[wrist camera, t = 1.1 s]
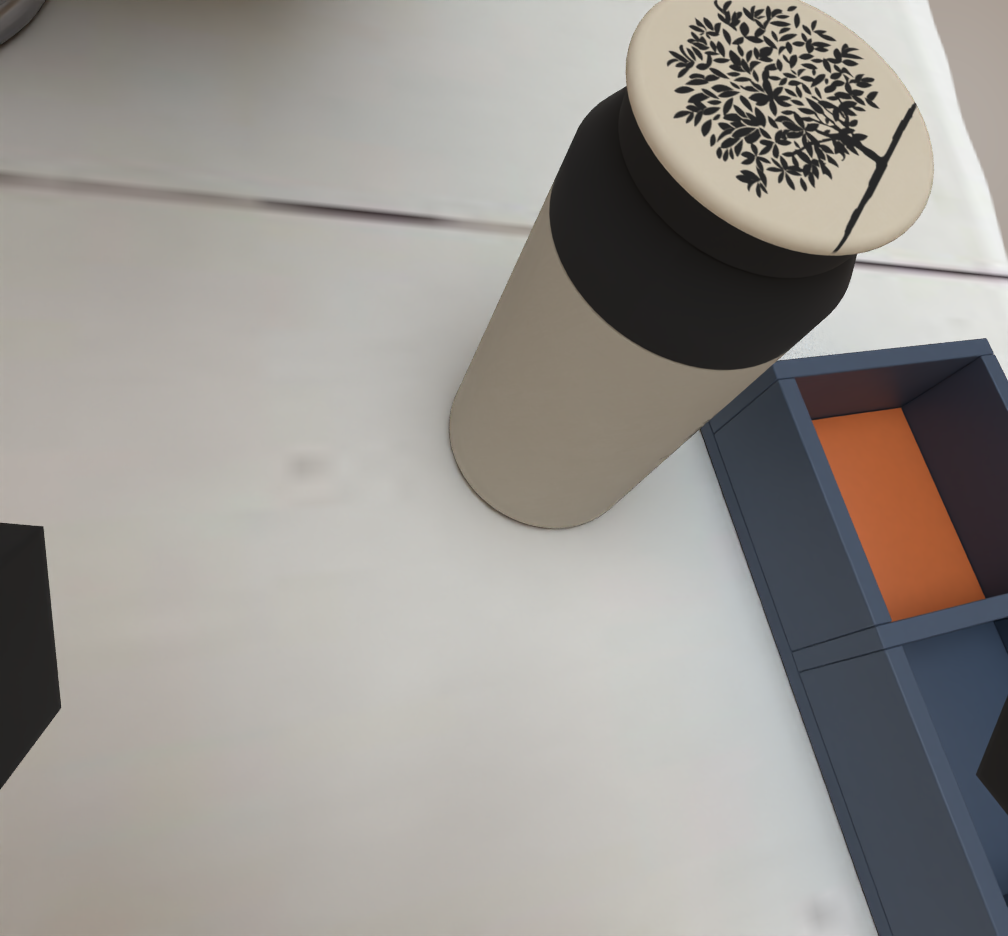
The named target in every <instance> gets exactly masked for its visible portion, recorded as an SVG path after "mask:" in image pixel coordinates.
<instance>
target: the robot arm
mask: <svg viewBox="0 0 1008 936" xmlns="http://www.w3.org/2000/svg"><path fill="white" fill-rule="evenodd" d="M44 2H45V0H0V44H2V43H4V42H5V41H7V40H8V39H9V38H11V37H12V36H13V35H15V34H16V33H18V32H19V31H20V30H21V29H22V28H23V27H24V26H25V25H26V24H27V23H29V21H30V20H31V19H32V18H33V17H34V16H35V14H36V13H37V12H38V11H39V9H40V8H41V6H42V5H43V3H44ZM60 709H61V701H60V691H59V681H58V670H57V660H56V650H55V640H54V630H53V620H52V610H51V600H50V589H49V579H48V569H47V559H46V549H45V539H44V529H43V526H31V525H20V524H8V523H0V789H1V788H2V787H3V785H4V784H5V783H6V781H7V780H8V779H9V777H10V776H11V774H12V773H13V772H14V770H15V769H16V768H17V766H18V765H19V764H20V762H21V761H22V760H23V758H24V757H25V756H26V754H27V753H28V752H29V750H30V749H31V748H32V746H33V745H34V744H35V742H36V741H37V740H38V738H39V737H40V736H41V734H42V733H43V732H44V730H45V729H46V728H47V726H48V725H49V724H50V722H51V721H52V719H53V718H54V717H55V715H56V714H57V713H58V711H59V710H60ZM976 776H977V777H978V778H979V780H980V781H981V782H982V783H983V785H984V786H985V787H986V788H987V790H988V791H989V792H990V793H991V795H992V796H993V797H994V798H995V800H996V801H997V802H998V804H999V805H1000V806H1001V807H1002V809H1003V810H1004V811H1005V812H1006V814H1007V815H1008V696H1007V698H1006V701H1005V703H1004V705H1003V708H1002V710H1001V713H1000V715H999V718H998V720H997V723H996V725H995V728H994V730H993V733H992V735H991V738H990V740H989V743H988V745H987V748H986V750H985V753H984V755H983V758H982V760H981V763H980V765H979V768H978V770H977V772H976Z"/></svg>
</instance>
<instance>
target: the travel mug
mask: <svg viewBox="0 0 1008 936" xmlns="http://www.w3.org/2000/svg"><path fill="white" fill-rule="evenodd" d="M626 84H627V86H626V87H624V88H623V89H621V90H619V91H618V92H616V93H614V94H613V95H611V96H609V97H608V98H606V99H605V100H603V101H602V102H600V103H599V104H598V105H597V106H596V107H594V108H593V109H592V110H591V111H590V112H589V114H588V115H587V116H586V117H585V118H584V120H583V121H582V123H581V124H580V126H579V128H578V130H577V132H576V134H575V136H574V138H573V141H572V143H571V145H570V147H569V149H568V152H567V154H566V156H565V158H564V160H563V163H562V165H561V167H560V169H559V171H558V173H557V176H556V178H555V180H554V182H553V184H552V187H551V189H550V191H549V193H548V195H547V197H546V200H545V202H544V204H543V206H542V208H541V211H540V213H539V215H538V217H537V219H536V221H535V224H534V226H533V228H532V230H531V232H530V235H529V237H528V239H527V241H526V243H525V246H524V248H523V250H522V252H521V254H520V256H519V259H518V261H517V263H516V265H515V267H514V270H513V272H512V274H511V276H510V278H509V280H508V283H507V285H506V287H505V289H504V291H503V294H502V296H501V298H500V300H499V302H498V304H497V307H496V309H495V311H494V313H493V315H492V318H491V320H490V322H489V324H488V326H487V328H486V331H485V333H484V335H483V337H482V339H481V342H480V344H479V346H478V348H477V350H476V353H475V355H474V357H473V359H472V361H471V363H470V366H469V368H468V370H467V372H466V374H465V377H464V379H463V381H462V383H461V385H460V387H459V390H458V392H457V394H456V396H455V398H454V401H453V405H452V408H451V413H450V422H449V433H450V441H451V446H452V450H453V453H454V456H455V459H456V462H457V464H458V466H459V468H460V470H461V472H462V474H463V475H464V477H465V479H466V480H467V481H468V483H469V484H470V486H471V487H472V488H473V489H474V490H475V492H476V493H477V494H478V495H479V496H480V497H481V498H482V499H483V500H484V501H486V502H487V503H488V504H489V505H490V506H492V507H493V508H495V509H496V510H498V511H499V512H501V513H503V514H504V515H506V516H508V517H510V518H512V519H514V520H517V521H519V522H522V523H525V524H528V525H532V526H537V527H544V528H567V527H573V526H577V525H581V524H584V523H587V522H589V521H592V520H594V519H596V518H598V517H599V516H601V515H602V514H604V513H605V512H607V511H608V510H609V509H610V508H611V507H612V506H614V505H615V504H616V503H617V502H618V501H619V500H620V499H622V498H623V497H624V496H625V495H626V494H627V493H628V492H629V491H631V490H632V489H633V488H634V487H635V486H636V485H637V484H638V483H640V482H641V481H642V480H643V479H644V478H645V477H646V476H647V475H649V474H650V473H651V472H652V471H653V470H654V469H655V468H656V467H658V466H659V465H660V464H661V463H662V462H663V461H664V460H666V459H667V458H668V457H669V456H670V455H671V454H672V453H673V452H675V451H676V450H677V449H678V448H679V447H680V446H681V445H682V444H684V443H685V442H686V441H687V440H688V439H689V438H690V437H691V436H693V435H694V434H695V433H696V432H697V431H698V430H699V429H700V428H702V427H703V426H704V425H705V424H706V423H707V422H708V421H710V420H711V419H712V418H713V417H714V416H715V415H716V414H717V413H719V412H720V411H721V410H722V409H723V408H724V407H725V406H726V405H728V404H729V403H730V402H731V401H732V400H733V399H734V398H735V397H737V396H738V395H739V394H740V393H741V392H742V391H743V390H745V389H746V388H747V387H748V386H749V385H750V384H751V383H752V382H754V381H755V380H756V379H757V378H758V377H759V376H760V375H761V374H763V373H764V372H765V371H766V370H767V369H768V368H769V367H770V366H772V365H773V364H774V363H775V362H776V361H777V360H778V359H779V358H781V357H782V356H783V355H784V354H785V353H786V352H787V351H789V350H790V349H791V348H792V347H793V346H794V345H795V344H796V343H798V342H799V341H800V340H801V339H802V338H803V337H804V336H805V335H807V334H808V333H809V332H810V331H811V330H812V329H813V328H814V327H816V326H817V325H818V324H819V323H820V322H821V321H822V320H823V319H825V318H826V317H827V316H828V315H829V314H830V313H831V312H832V311H833V310H834V309H835V308H836V306H837V305H838V304H839V302H840V301H841V299H842V298H843V296H844V294H845V292H846V290H847V288H848V285H849V282H850V279H851V276H852V272H853V268H854V264H855V260H856V256H857V254H858V253H863V252H868V251H871V250H874V249H877V248H879V247H882V246H884V245H886V244H888V243H890V242H892V241H894V240H895V239H897V238H898V237H899V236H901V235H902V234H904V233H905V232H906V231H907V230H908V229H909V228H910V227H911V226H912V225H913V224H914V223H915V221H916V220H917V219H918V218H919V216H920V215H921V213H922V211H923V209H924V208H925V206H926V204H927V201H928V198H929V196H930V192H931V188H932V183H933V174H934V162H933V152H932V145H931V141H930V138H929V134H928V131H927V128H926V125H925V122H924V120H923V117H922V115H921V113H920V111H919V109H918V107H917V105H916V103H915V101H914V99H913V98H912V96H911V94H910V93H909V91H908V90H907V88H906V87H905V85H904V84H903V82H902V81H901V80H900V78H899V77H898V76H897V74H896V73H895V72H894V71H893V70H892V68H891V67H890V66H889V65H888V64H887V63H886V62H885V60H884V59H883V58H882V57H881V56H880V55H879V54H878V53H877V52H876V51H875V50H874V49H873V48H871V47H870V46H869V45H868V44H867V43H866V42H865V41H864V40H862V39H861V38H860V37H859V36H858V35H856V34H855V33H854V32H853V31H851V30H850V29H849V28H847V27H846V26H844V25H843V24H842V23H840V22H839V21H837V20H835V19H834V18H832V17H831V16H829V15H827V14H826V13H824V12H822V11H820V10H819V9H817V8H815V7H813V6H811V5H809V4H807V3H805V2H803V1H800V0H661V1H660V2H658V3H657V4H656V5H655V6H653V7H652V8H651V9H650V10H649V11H648V12H647V13H646V15H645V16H644V17H643V19H642V20H641V21H640V23H639V24H638V26H637V28H636V30H635V32H634V34H633V36H632V39H631V42H630V44H629V48H628V53H627V59H626Z"/></svg>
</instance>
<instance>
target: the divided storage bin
mask: <svg viewBox="0 0 1008 936" xmlns="http://www.w3.org/2000/svg"><path fill="white" fill-rule="evenodd" d="M700 429H701V432H702V435H703V438H704V440H705V443H706V446H707V449H708V452H709V455H710V457H711V460H712V463H713V466H714V469H715V472H716V474H717V477H718V480H719V483H720V486H721V489H722V491H723V494H724V497H725V500H726V503H727V506H728V508H729V511H730V514H731V517H732V520H733V523H734V525H735V528H736V531H737V534H738V537H739V540H740V542H741V545H742V548H743V551H744V554H745V557H746V559H747V562H748V565H749V568H750V571H751V574H752V576H753V579H754V582H755V585H756V588H757V591H758V593H759V596H760V599H761V602H762V605H763V608H764V610H765V613H766V616H767V619H768V622H769V625H770V627H771V630H772V633H773V636H774V639H775V642H776V644H777V647H778V650H779V653H780V656H781V659H782V661H783V664H784V667H785V670H786V673H787V676H788V678H789V681H790V684H791V687H792V690H793V693H794V695H795V698H796V701H797V704H798V707H799V710H800V712H801V715H802V718H803V721H804V724H805V727H806V729H807V732H808V735H809V738H810V741H811V744H812V746H813V749H814V752H815V755H816V758H817V761H818V763H819V766H820V769H821V772H822V775H823V778H824V780H825V783H826V786H827V789H828V792H829V795H830V797H831V800H832V803H833V806H834V809H835V812H836V814H837V817H838V820H839V823H840V826H841V829H842V831H843V834H844V837H845V840H846V843H847V845H848V848H849V851H850V854H851V857H852V860H853V862H854V865H855V868H856V871H857V874H858V877H859V879H860V882H861V885H862V888H863V891H864V894H865V896H866V899H867V902H868V905H869V908H870V911H871V913H872V916H873V919H874V922H875V925H876V928H877V930H878V933H879V936H1008V815H1007V814H1006V812H1005V811H1004V810H1003V809H1002V807H1001V806H1000V805H999V804H998V802H997V801H996V800H995V798H994V797H993V796H992V795H991V793H990V792H989V791H988V790H987V788H986V787H985V786H984V785H983V783H982V782H981V781H980V780H979V778H978V777H977V776H976V772H977V770H978V768H979V765H980V763H981V760H982V758H983V755H984V753H985V750H986V748H987V745H988V743H989V740H990V738H991V735H992V733H993V730H994V728H995V725H996V723H997V720H998V718H999V715H1000V713H1001V710H1002V708H1003V705H1004V703H1005V701H1006V698H1007V696H1008V380H1007V378H1006V376H1005V374H1004V372H1003V370H1002V368H1001V366H1000V364H999V362H998V360H997V358H996V356H995V355H993V351H992V349H991V347H990V345H989V343H988V340H987V339H986V338H983V339H974V340H965V341H956V342H946V343H937V344H928V345H919V346H909V347H900V348H891V349H881V350H872V351H863V352H854V353H844V354H835V355H826V356H817V357H807V358H798V359H789V360H779V361H776V362H775V363H774V364H773V365H772V366H770V367H769V368H768V369H767V370H766V371H765V372H764V373H763V374H761V375H760V376H759V377H758V378H757V379H756V380H755V381H754V382H752V383H751V384H750V385H749V386H748V387H747V388H746V389H745V390H743V391H742V392H741V393H740V394H739V395H738V396H737V397H735V398H734V399H733V400H732V401H731V402H730V403H729V404H728V405H726V406H725V407H724V408H723V409H722V410H721V411H720V412H719V413H717V414H716V415H715V416H714V417H713V418H712V419H711V420H710V421H708V422H707V423H706V424H705V425H704V426H703V427H702V428H700Z"/></svg>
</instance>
